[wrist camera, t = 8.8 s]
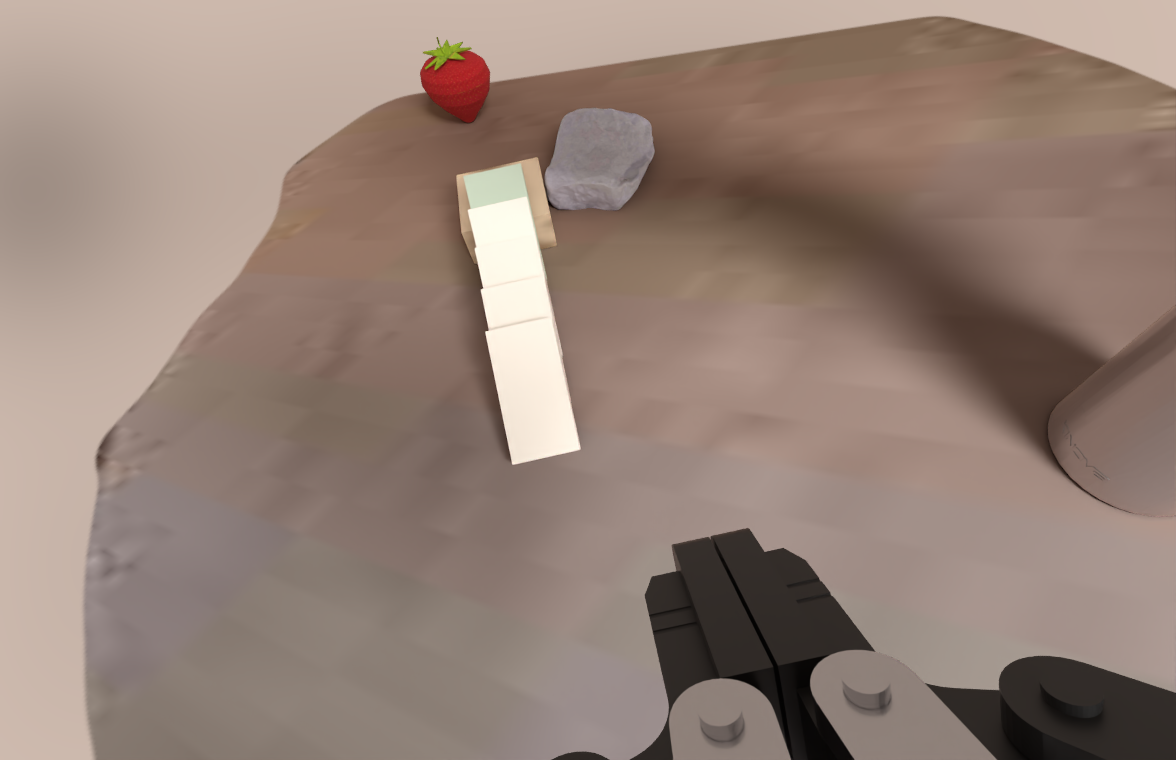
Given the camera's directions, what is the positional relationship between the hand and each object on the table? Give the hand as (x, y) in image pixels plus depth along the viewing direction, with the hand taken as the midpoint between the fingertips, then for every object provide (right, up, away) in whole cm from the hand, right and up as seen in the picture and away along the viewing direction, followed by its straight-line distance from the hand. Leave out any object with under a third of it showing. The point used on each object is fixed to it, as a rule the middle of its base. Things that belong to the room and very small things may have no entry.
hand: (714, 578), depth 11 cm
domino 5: (-5, -2, +31) cm, 31 cm away
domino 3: (-7, +5, +35) cm, 37 cm away
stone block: (-1, +25, +48) cm, 54 cm away
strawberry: (-16, +33, +55) cm, 66 cm away
